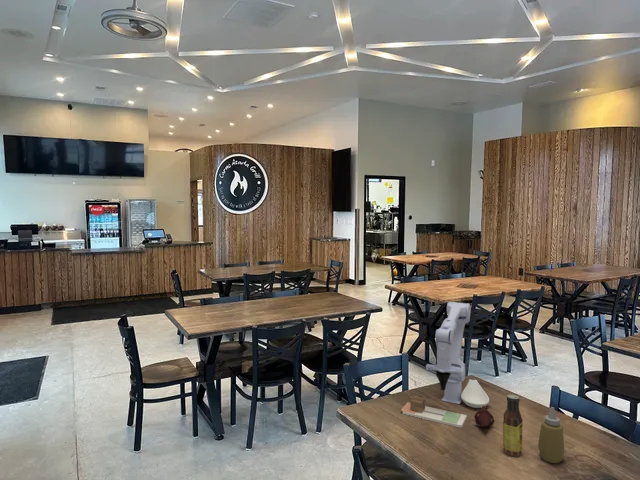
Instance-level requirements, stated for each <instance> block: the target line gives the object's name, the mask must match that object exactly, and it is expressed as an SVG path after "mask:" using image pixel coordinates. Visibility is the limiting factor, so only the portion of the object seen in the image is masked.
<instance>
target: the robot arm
mask: <svg viewBox="0 0 640 480" xmlns="http://www.w3.org/2000/svg"><path fill="white" fill-rule="evenodd" d="M471 308H472V307H471V304H470V303H469V302H468V303H465V302H454V301H448V302H447V304H446V313H447V318H445V319H444V320H443V321H442V323H441V326H440V327H439V328H438V329H436V330H435V335H434V337H435V339H434V340H435V346H436V364H430V363H427V364H426V365H425V371H433V372H436V373H435V374H436V375H435V376H436V377H437V379H438V382H439V385H440V390H442V391H444V392H443V393H444V394H443V397H442V398H441V401H443V402H447V403H452V404H457V405H461V403H462V402H463V400H462V398H461V393H462V392H463V383H462V382H464V381H465V378H466V364H465V363H464V362H463V361H462V360H461V352H462V345H463V339H464V338H463V337H464V330H465V326H466V324H468V323H469V322H470V320H471V312H472V311H471Z"/></svg>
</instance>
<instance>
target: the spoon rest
mask: <svg viewBox="0 0 640 480" xmlns="http://www.w3.org/2000/svg"><path fill="white" fill-rule="evenodd" d="M461 398H462V402H463V403H464V404H465V405H467V406H468V407H470V408H473V409H474V408H475V409H480V408H482V406H486V407H487V405H488V404H489V403H490V398H489V396H488V394H487V393H486V391H485V389H483V388H482V386H481V385H480V383H479V382H478V380H477V379H471V378H469V379H468V380H467V384H466V386H465V387H464V388H463V389H462V393H461Z"/></svg>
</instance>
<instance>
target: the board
mask: <svg viewBox="0 0 640 480" xmlns="http://www.w3.org/2000/svg"><path fill="white" fill-rule="evenodd" d="M400 412H402V415H404V414H406V415H405V416H409V415H410V417H413V416H414V418H417V417H418V419H421V418H422V420H425V421H431V422H434V423H440V424H444V425H447V426H452V427H456V428H460V429H462V428H463V426H464V424H465V423H466V422H465V421H466V420H467V414H463V413H458V412H453V411H448V410H444V409H439V408H435V407H431V406H426V405H425V409H424V410H423V412H418V411H413V410H410V402H409V401H408V402H406V404H404V406H403V407H402V408H401V409H400Z"/></svg>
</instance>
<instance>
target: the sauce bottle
mask: <svg viewBox="0 0 640 480" xmlns="http://www.w3.org/2000/svg"><path fill="white" fill-rule="evenodd" d="M506 404H507V405H506V410H505V411H504V412H503V421H502V447H503V448H502V450H503V452H504V453H505V455H509V456H513V457H519V456H521V455H522V453H523V452H522V451H523V424H524V423H523V418H522V415H521V412H520V396H518V395H515V394H507V395H506Z"/></svg>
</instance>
